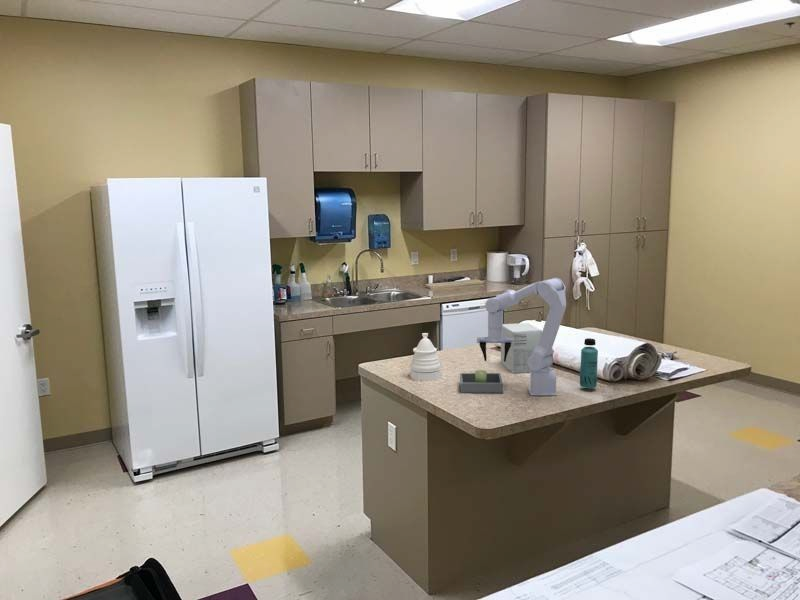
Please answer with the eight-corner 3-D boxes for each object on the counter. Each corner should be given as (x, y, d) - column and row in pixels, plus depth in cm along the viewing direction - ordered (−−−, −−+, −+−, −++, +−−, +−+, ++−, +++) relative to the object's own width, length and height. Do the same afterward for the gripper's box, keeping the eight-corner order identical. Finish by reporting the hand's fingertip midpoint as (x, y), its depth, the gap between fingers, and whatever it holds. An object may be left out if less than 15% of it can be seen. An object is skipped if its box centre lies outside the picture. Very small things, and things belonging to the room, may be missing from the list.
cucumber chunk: (486, 384, 257) (486, 370, 256) (486, 388, 253) (487, 373, 252) (474, 384, 258) (474, 370, 257) (475, 388, 253) (475, 373, 252)
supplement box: (542, 372, 276) (543, 330, 273) (512, 373, 274) (512, 331, 271) (528, 361, 293) (528, 322, 290) (499, 363, 291) (500, 323, 288)
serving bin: (499, 382, 262) (499, 373, 261) (503, 393, 248) (503, 383, 247) (459, 382, 263) (459, 373, 262) (460, 393, 249) (460, 383, 248)
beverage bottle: (575, 388, 252) (577, 338, 249) (588, 386, 255) (589, 336, 252) (588, 393, 246) (590, 341, 243) (600, 390, 250) (602, 339, 246)
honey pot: (410, 372, 279) (409, 331, 276) (440, 372, 279) (439, 331, 276) (410, 381, 266) (410, 338, 263) (442, 380, 266) (441, 337, 263)
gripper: (476, 329, 255) (476, 362, 257) (513, 329, 252) (513, 363, 254) (477, 325, 261) (477, 358, 264) (514, 326, 259) (513, 359, 261)
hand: (495, 360), depth 259 cm, fingers open, 7 cm apart
